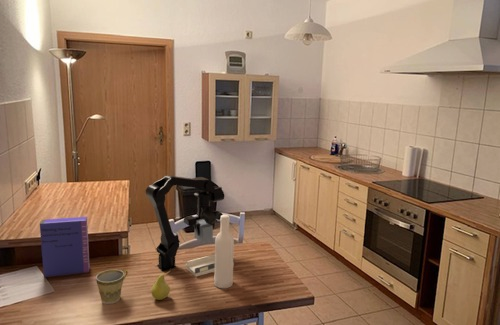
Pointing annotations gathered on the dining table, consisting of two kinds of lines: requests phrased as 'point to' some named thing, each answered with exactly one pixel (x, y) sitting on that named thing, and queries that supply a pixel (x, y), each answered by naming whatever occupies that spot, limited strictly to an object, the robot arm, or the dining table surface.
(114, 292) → the ceramic cup
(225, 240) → the bottle
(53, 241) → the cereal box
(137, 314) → the dining table surface
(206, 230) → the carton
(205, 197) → the robot arm
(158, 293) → the fruit
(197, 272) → the shelf
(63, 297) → the dining table surface
